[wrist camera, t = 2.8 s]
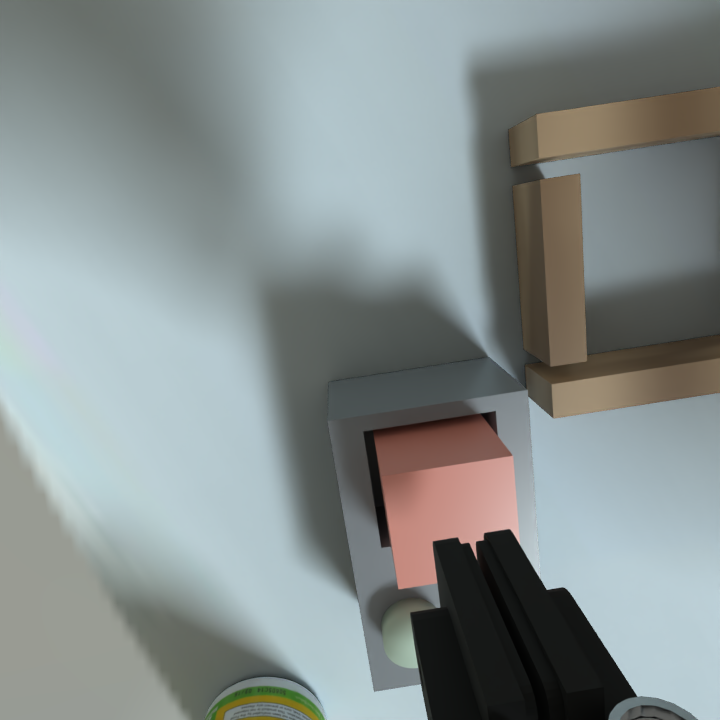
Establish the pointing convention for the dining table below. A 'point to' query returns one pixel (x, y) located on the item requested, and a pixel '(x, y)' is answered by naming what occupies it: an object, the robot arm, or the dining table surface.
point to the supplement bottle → (266, 701)
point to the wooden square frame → (566, 269)
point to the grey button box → (364, 493)
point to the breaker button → (442, 489)
